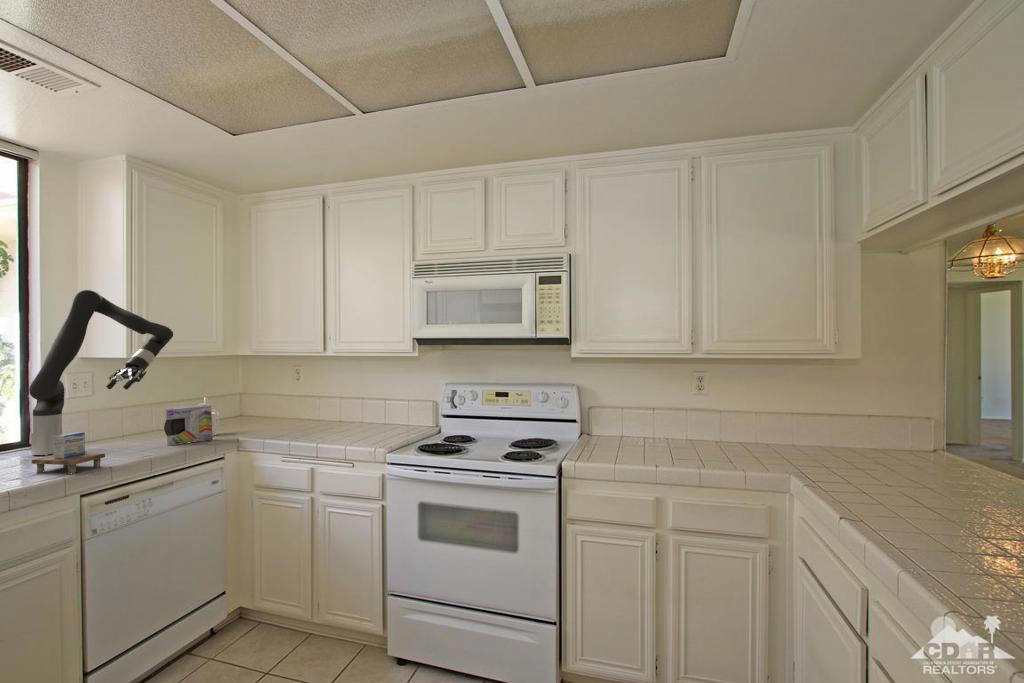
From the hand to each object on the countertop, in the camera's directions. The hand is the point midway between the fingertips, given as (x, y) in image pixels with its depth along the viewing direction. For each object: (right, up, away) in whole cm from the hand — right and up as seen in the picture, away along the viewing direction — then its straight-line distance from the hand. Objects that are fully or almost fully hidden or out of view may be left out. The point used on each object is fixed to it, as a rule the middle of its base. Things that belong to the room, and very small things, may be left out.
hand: (116, 388), depth 207 cm
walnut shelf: (+4, -29, -27) cm, 39 cm away
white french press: (+15, -29, +39) cm, 50 cm away
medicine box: (+4, -24, -26) cm, 36 cm away
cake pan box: (+18, -29, +21) cm, 40 cm away
